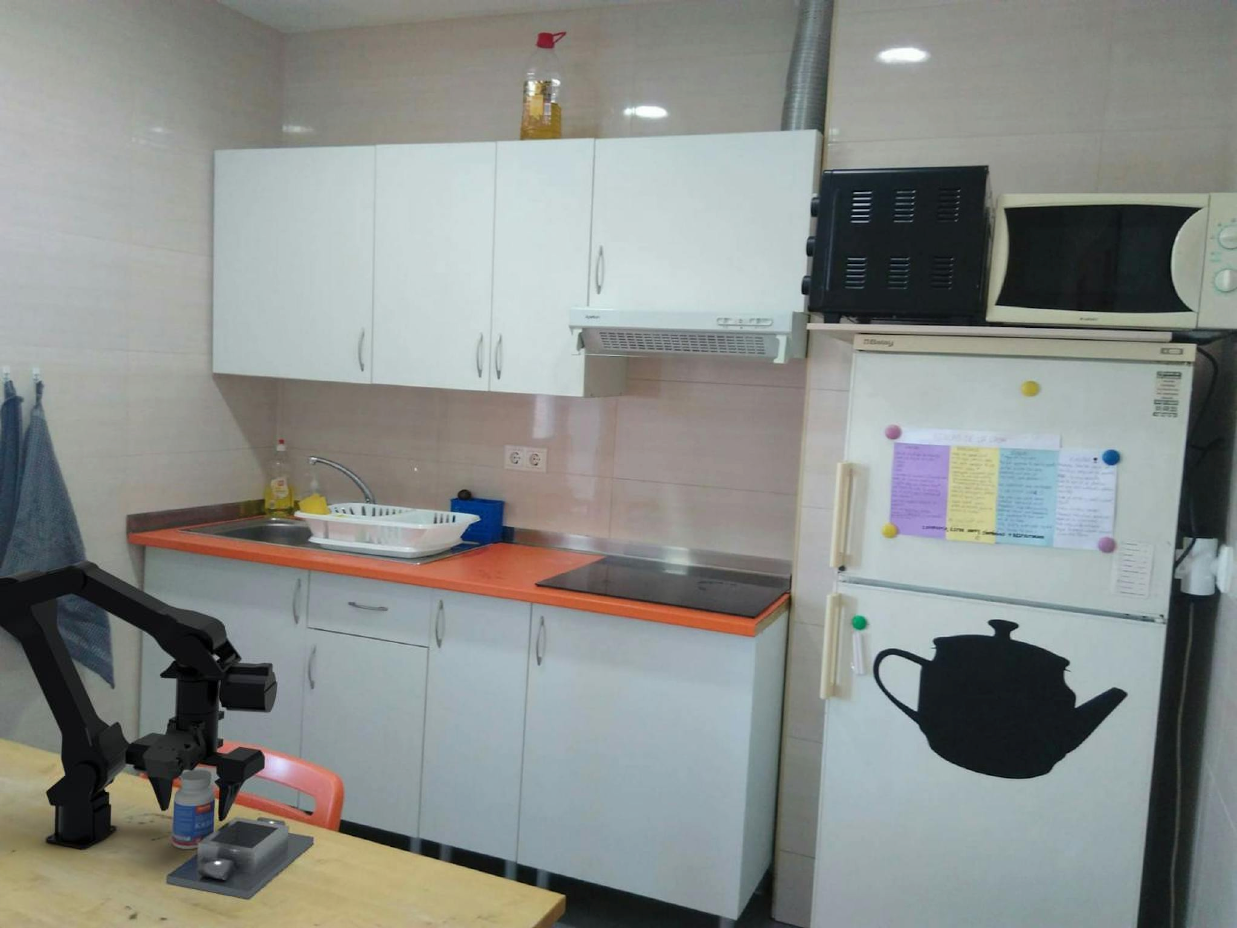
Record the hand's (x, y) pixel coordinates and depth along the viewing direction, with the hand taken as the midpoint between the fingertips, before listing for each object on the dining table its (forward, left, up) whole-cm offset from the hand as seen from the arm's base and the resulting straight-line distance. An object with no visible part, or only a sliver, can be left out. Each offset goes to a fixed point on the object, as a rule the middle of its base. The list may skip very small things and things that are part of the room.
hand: (193, 815), depth 138 cm
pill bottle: (0, 0, -4) cm, 4 cm away
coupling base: (+10, -3, -4) cm, 11 cm away
